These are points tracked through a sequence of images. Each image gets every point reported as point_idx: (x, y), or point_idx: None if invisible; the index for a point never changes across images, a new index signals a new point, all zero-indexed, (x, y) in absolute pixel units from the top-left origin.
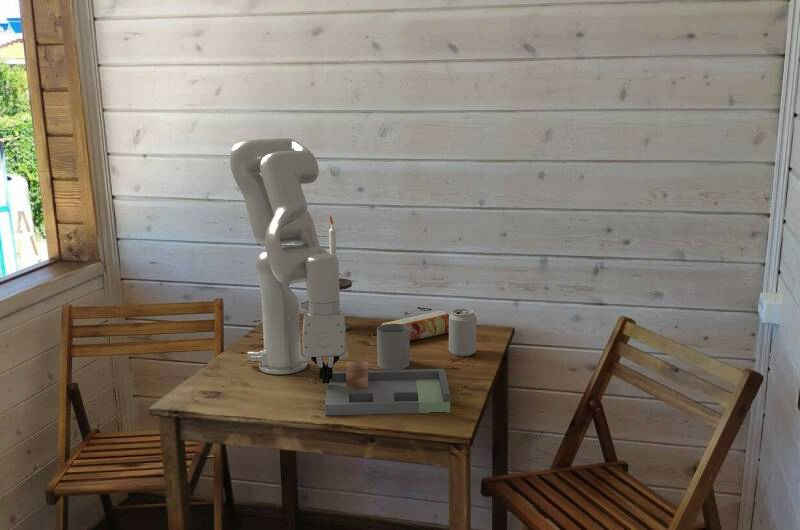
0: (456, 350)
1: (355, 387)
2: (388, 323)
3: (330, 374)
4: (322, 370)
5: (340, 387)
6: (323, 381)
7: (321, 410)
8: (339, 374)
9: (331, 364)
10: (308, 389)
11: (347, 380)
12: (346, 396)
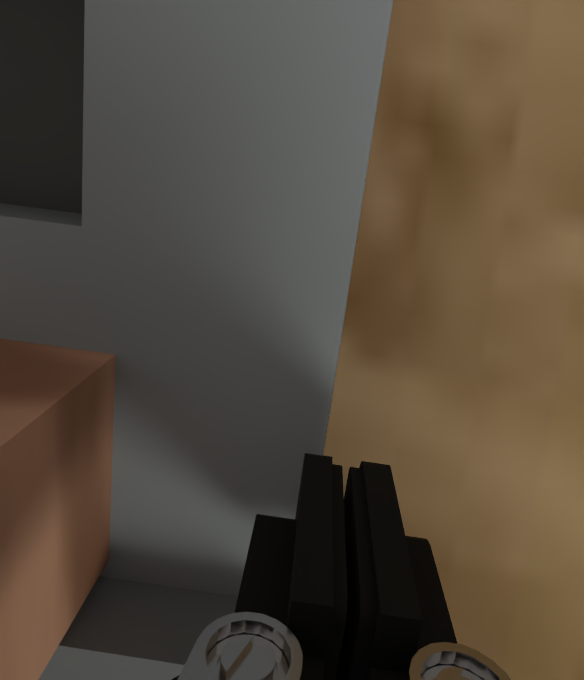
0: None
1: (3, 346)
2: None
3: (272, 550)
4: (406, 585)
5: (182, 423)
6: (377, 474)
7: (422, 86)
8: (165, 649)
9: (221, 667)
10: (476, 611)
11: (50, 393)
12: (116, 127)
